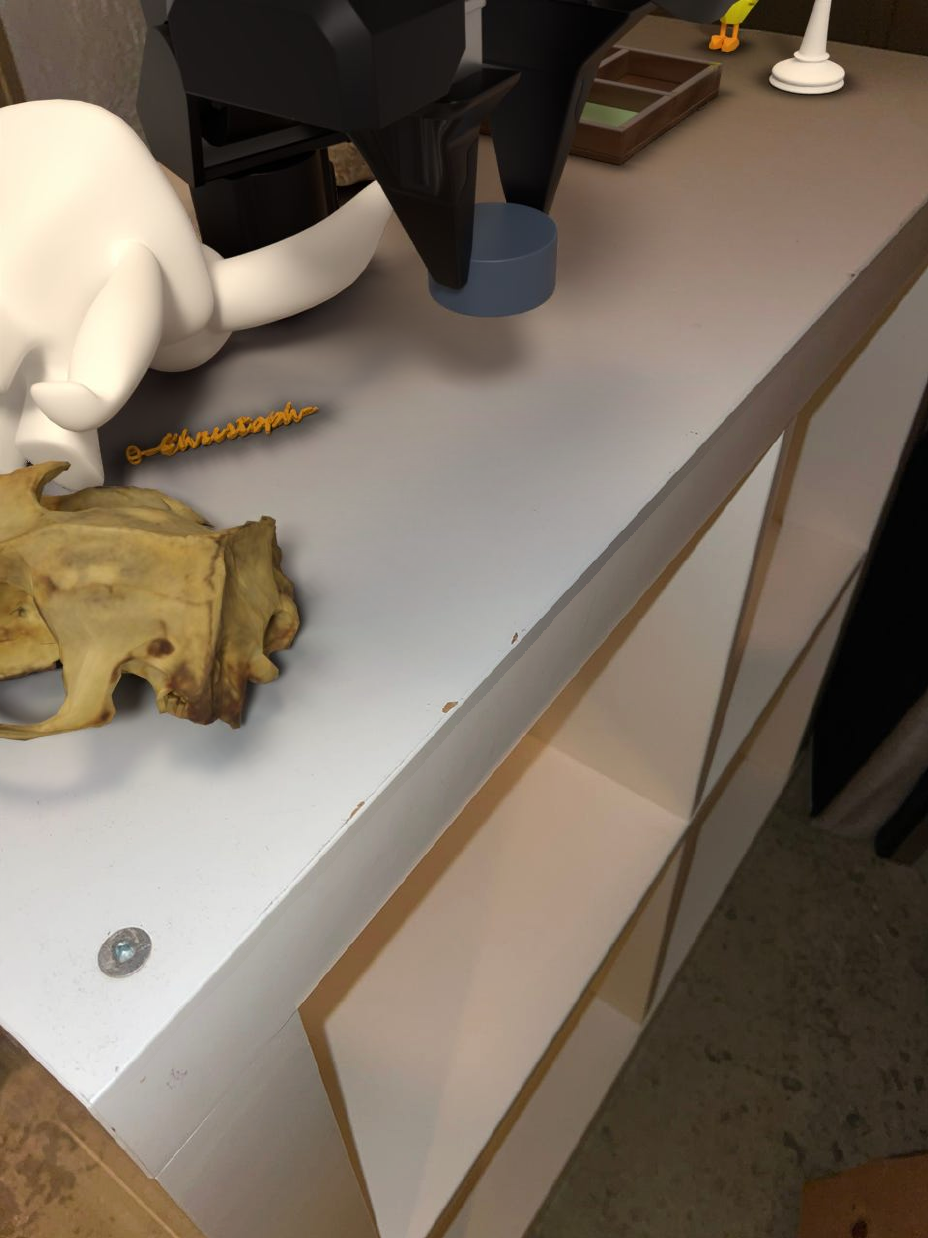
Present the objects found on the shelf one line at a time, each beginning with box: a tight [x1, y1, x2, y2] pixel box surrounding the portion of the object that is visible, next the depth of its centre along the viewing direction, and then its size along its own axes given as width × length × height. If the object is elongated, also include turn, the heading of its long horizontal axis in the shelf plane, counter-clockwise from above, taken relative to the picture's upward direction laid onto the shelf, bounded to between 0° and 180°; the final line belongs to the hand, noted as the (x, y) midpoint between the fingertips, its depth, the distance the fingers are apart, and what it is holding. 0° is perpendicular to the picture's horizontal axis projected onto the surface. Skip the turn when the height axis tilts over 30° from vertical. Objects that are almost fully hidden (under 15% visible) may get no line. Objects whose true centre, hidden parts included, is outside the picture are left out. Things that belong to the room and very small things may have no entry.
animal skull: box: [0, 461, 300, 742], centre depth 29 cm, size 10×16×7 cm
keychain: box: [125, 401, 318, 466], centre depth 39 cm, size 8×1×1 cm, turn 112°
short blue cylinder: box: [427, 201, 559, 318], centre depth 32 cm, size 4×4×2 cm
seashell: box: [328, 142, 376, 187], centre depth 55 cm, size 8×6×10 cm
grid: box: [479, 43, 724, 166], centre depth 63 cm, size 14×14×2 cm
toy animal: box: [0, 98, 394, 493], centre depth 37 cm, size 20×12×17 cm
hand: (490, 256), depth 32 cm, fingers closed on short blue cylinder, 4 cm apart
